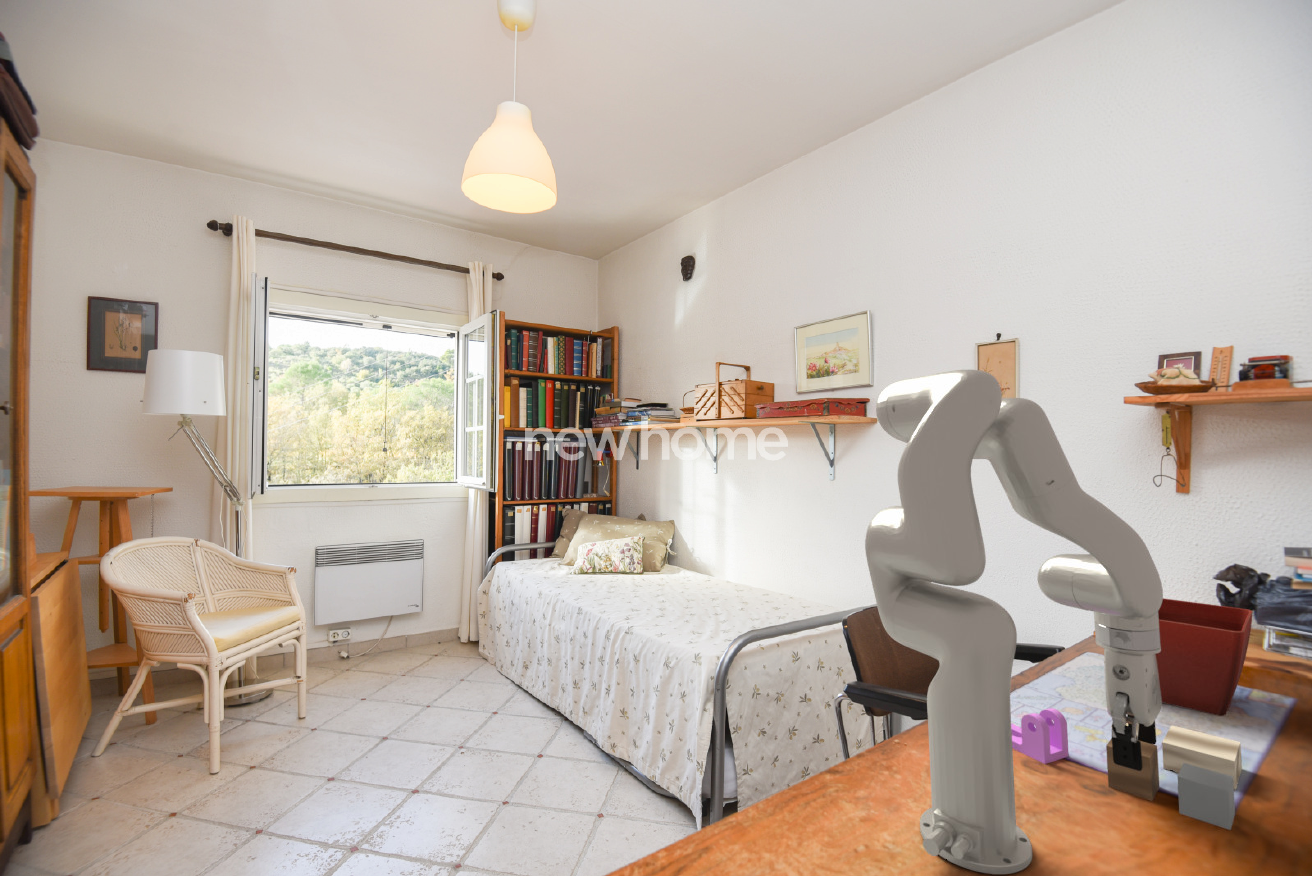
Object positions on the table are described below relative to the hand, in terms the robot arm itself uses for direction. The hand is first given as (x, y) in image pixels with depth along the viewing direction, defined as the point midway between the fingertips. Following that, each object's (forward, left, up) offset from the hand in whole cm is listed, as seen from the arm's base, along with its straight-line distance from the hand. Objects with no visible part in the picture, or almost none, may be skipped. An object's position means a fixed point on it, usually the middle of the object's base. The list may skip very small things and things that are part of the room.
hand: (1135, 753), depth 87 cm
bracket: (+2, +16, -5) cm, 17 cm away
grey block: (-2, -8, -5) cm, 9 cm away
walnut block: (-1, 0, -5) cm, 5 cm away
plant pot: (+43, 0, -5) cm, 44 cm away
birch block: (+12, -6, -5) cm, 14 cm away
